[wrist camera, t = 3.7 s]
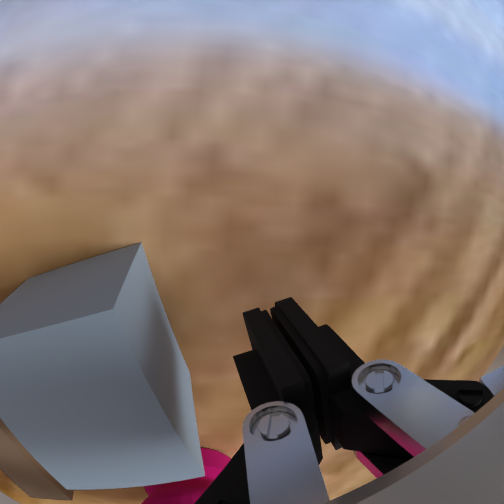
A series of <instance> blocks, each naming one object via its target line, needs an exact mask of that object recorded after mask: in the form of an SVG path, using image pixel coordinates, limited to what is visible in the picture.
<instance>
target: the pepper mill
mask: <svg viewBox="0 0 504 504" xmlns="http://www.w3.org/2000/svg"><path fill="white" fill-rule="evenodd" d="M200 449H201V455H202V461H203V466H204V472H205V476H203V477H198V478H193V479H187V480H182V481H176V482H170V483H163V484H156V485H148V486H145V491H146V492H147V494H148V495H149V497H147V498H146V499H145V500H144V501H143V502H142V504H194V503H195V502H196V501H197V500H198V499H199V497H200V496H201V495H202V494H203V493H204V492H205V490H206V489H207V488H208V487H209V486H210V485H211V483H212V482H213V481H214V480H215V479H216V477H217V476H218V475H219V474H220V473H221V471H222V470H223V469H224V468H225V466H226V465H227V464H228V463H229V461H230V460H231V458H229V457H228V456H226V455H225V454H223V453H221V452H219V451H216V450H212V449H208V448H201V447H200Z"/></svg>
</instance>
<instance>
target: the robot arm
mask: <svg viewBox="0 0 504 504" xmlns="http://www.w3.org/2000/svg"><path fill="white" fill-rule="evenodd" d="M270 310H271V315H272V318H271V316H270V315H269V313H268V312H267V310H264V311H260V309H259V308H256V309H253V310H250V311H246V312H243V317H244V321H245V324H246V328H247V332H248V335H249V339H250V342H251V346H252V349H253V350H251V351H248V352H245V353H242V354H239V355H235V356H233V358H234V361H235V364H236V367H237V370H238V373H239V376H240V379H241V382H242V385H243V387H244V390H245V393H246V396H247V399H248V402H249V404H250V407H251V410H252V411H251V412H250V413H249V414H248V415H247V416H246V418H245V420H244V422H243V439H244V443H243V445H242V446H241V447H240V449H239V450H238V451H237V452H236V454H235V455H234V456H233V458H232V459H231V460H230V461H229V463H228V464H227V465H226V466H225V468H224V469H223V470H222V471H221V473H220V474H219V475H218V476H217V477H216V479H215V480H214V481H213V482H212V483H211V485H210V486H209V487H208V488H207V489H206V490H205V492H204V493H203V494H202V495H201V496H200V497H199V499H198V500H197V501H196V502H195V503H194V504H504V366H502V367H500V368H498V369H497V370H495V371H493V372H491V373H489V374H487V375H485V376H483V377H481V378H480V380H479V382H477V381H464V380H426V379H422V378H420V377H419V376H417V375H415V374H414V373H412V372H411V371H409V370H408V369H406V368H405V367H403V366H402V365H400V364H398V363H396V362H394V361H390V360H374V361H370V362H367V363H364V362H363V361H362V360H361V359H360V358H359V357H358V356H357V355H356V353H355V352H354V351H353V350H352V349H351V348H350V347H349V346H348V345H347V344H346V343H345V342H344V341H343V340H342V339H341V338H340V337H339V336H338V335H337V334H336V333H335V332H334V331H333V330H332V329H331V328H330V327H329V326H328V325H326V324H325V325H322V326H320V327H318V326H317V325H316V324H315V323H314V322H313V321H312V320H311V319H310V317H309V316H308V315H307V314H306V313H305V312H304V311H303V310H302V308H301V307H300V306H299V305H298V304H297V303H296V302H295V301H294V300H293V298H291V297H290V298H287V299H284V300H281V301H277V302H275V307H273V308H271V309H270ZM320 436H321V438H322V440H323V441H324V443H325V444H328V443H330V442H331V443H332V445H333V446H334V448H335V450H337V449H340V448H342V447H343V449H347V450H353V452H354V454H355V456H356V457H357V459H358V460H359V461H360V462H361V463H362V464H363V465H364V466H365V467H366V468H367V469H368V470H369V471H370V472H371V473H372V474H373V475H374V476H375V477H376V478H377V479H375V480H373V481H371V482H369V483H367V484H365V485H363V486H361V487H359V488H357V489H355V490H353V491H351V492H349V493H346V494H344V495H342V496H340V497H337V498H335V499H333V500H329V497H328V493H327V490H326V487H325V484H324V480H323V477H322V474H321V471H320V467H319V464H320V462H321V460H322V458H323V456H322V448H321V441H320Z"/></svg>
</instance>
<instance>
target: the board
mask: <svg viewBox="0 0 504 504" xmlns="http://www.w3.org/2000/svg"><path fill="white" fill-rule="evenodd" d="M0 469H1V470H2V471H3V472H4V473H5V474H6V475H7V476H8V477H9V478H10V479H11V480H12V481H13V482H14V483H15V484H16V485H17V486H19V487H20V488H21V489H22V490H23V491H24V492H25V493H26V494H28V495H29V496H30V497H33V498H43V499H55V500H72V498H73V491H74V490H67V489H66V488H65V487H63V486H62V485H61V484H60V483H59V482H58V481H57V480H56V479H55V478H54V477H53V476H52V475H51V474H50V473H49V472H48V471H47V470H46V469H45V468H44V467H43V466H42V465H41V464H40V463H39V462H38V461H37V460H36V459H35V458H34V457H33V456H32V455H31V454H30V453H29V452H28V451H27V450H26V448H25V447H24V446H23V445H22V444H21V443H20V442H19V440H18V439H17V438H16V437H15V436H14V435H13V433H12V432H11V431H10V430H9V428H8V427H7V426H6V425H5V423H4V422H3V421H2V420H1V418H0Z"/></svg>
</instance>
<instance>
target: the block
mask: <svg viewBox="0 0 504 504" xmlns="http://www.w3.org/2000/svg"><path fill="white" fill-rule="evenodd" d="M0 418H1V420H2V421H3V422H4V423H5V425H6V426H7V427H8V428H9V430H10V431H11V432H12V433H13V435H14V436H15V437H16V438H17V439H18V440H19V442H20V443H21V444H22V445H23V446H24V447H25V448H26V450H27V451H28V452H29V453H30V454H31V455H32V456H33V457H34V458H35V459H36V460H37V461H38V462H39V463H40V464H41V465H42V466H43V467H44V468H45V469H46V470H47V471H48V472H49V473H50V474H51V475H52V476H53V477H54V478H55V479H56V480H57V481H58V482H59V483H60V484H61V485H62V486H63V487H65V488H66V489H67V490H92V489H115V488H128V487H139V486H148V485H156V484H163V483H170V482H176V481H182V480H187V479H193V478H198V477H203V476H205V472H204V466H203V461H202V455H201V449H200V443H199V436H198V430H197V423H196V416H195V409H194V402H193V394H192V386H191V378H190V373H189V370H188V368H187V365H186V363H185V361H184V358H183V356H182V354H181V351H180V349H179V346H178V344H177V341H176V339H175V336H174V334H173V331H172V329H171V326H170V323H169V321H168V318H167V315H166V313H165V310H164V307H163V305H162V302H161V299H160V296H159V294H158V291H157V288H156V285H155V282H154V279H153V276H152V273H151V270H150V267H149V264H148V261H147V258H146V255H145V252H144V249H143V246H142V242H141V243H138V244H134V245H131V246H128V247H124V248H121V249H118V250H114V251H111V252H108V253H105V254H101V255H98V256H95V257H92V258H89V259H86V260H82V261H79V262H76V263H73V264H70V265H67V266H64V267H61V268H58V269H55V270H52V271H49V272H46V273H43V274H40V275H37V276H34V277H31V278H28V279H27V280H26V281H25V282H24V283H22V284H21V285H20V286H19V287H18V288H17V289H16V290H15V291H14V292H12V293H11V294H10V295H9V296H8V297H7V298H6V299H5V300H4V301H3V302H2V303H1V304H0Z"/></svg>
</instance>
